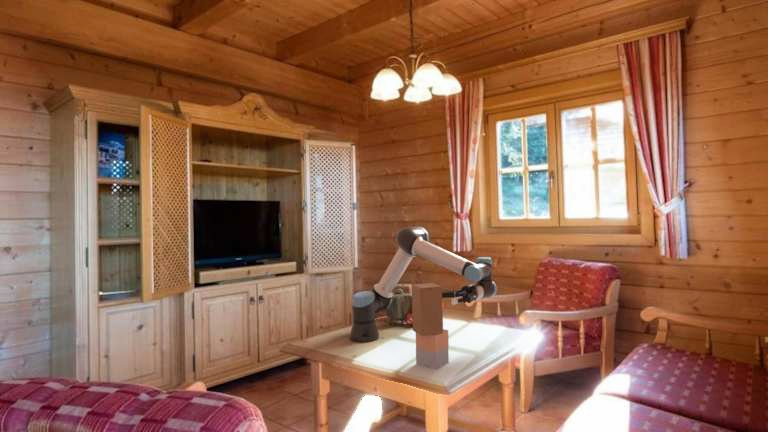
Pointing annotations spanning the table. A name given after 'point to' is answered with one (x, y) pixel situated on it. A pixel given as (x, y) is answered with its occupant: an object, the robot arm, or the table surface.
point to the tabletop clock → (399, 305)
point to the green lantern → (405, 289)
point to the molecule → (412, 317)
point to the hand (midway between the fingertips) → (439, 299)
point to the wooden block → (427, 309)
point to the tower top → (432, 341)
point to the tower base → (432, 358)
